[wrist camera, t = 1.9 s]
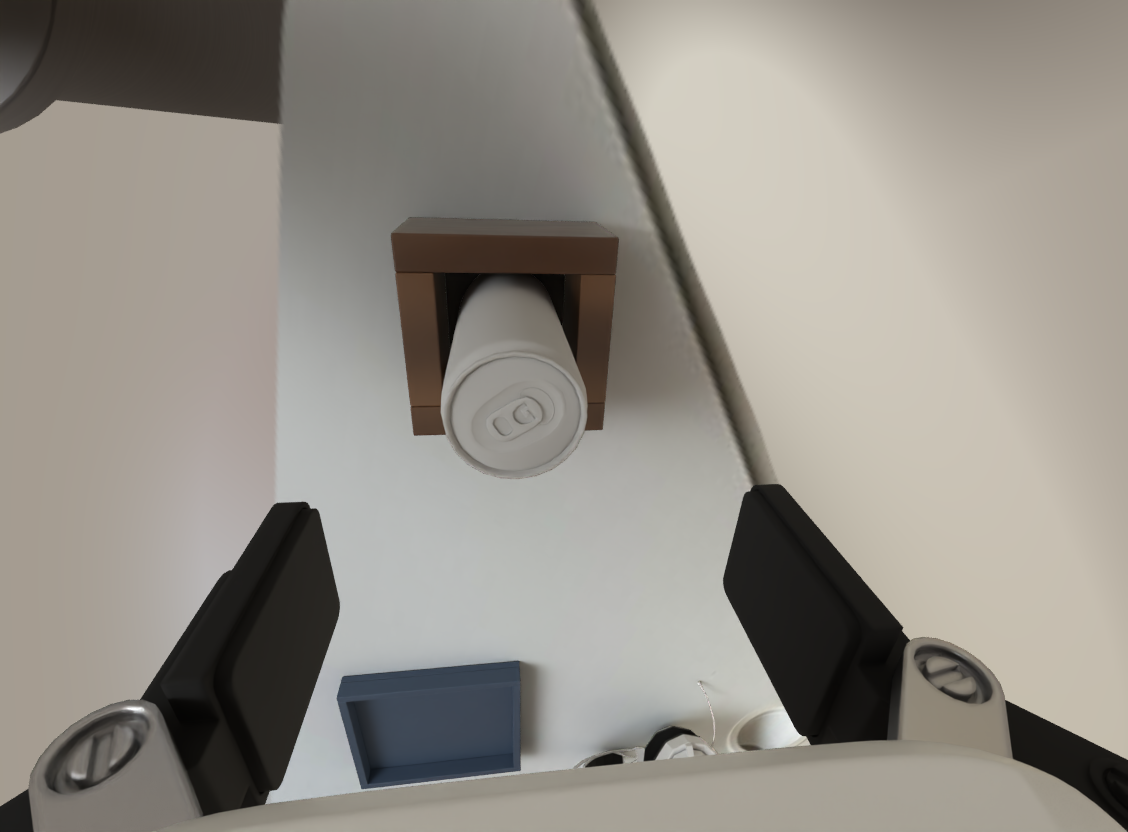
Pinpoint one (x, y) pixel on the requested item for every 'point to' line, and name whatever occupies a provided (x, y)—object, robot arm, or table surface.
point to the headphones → (659, 747)
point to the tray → (432, 723)
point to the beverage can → (511, 380)
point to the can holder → (501, 249)
